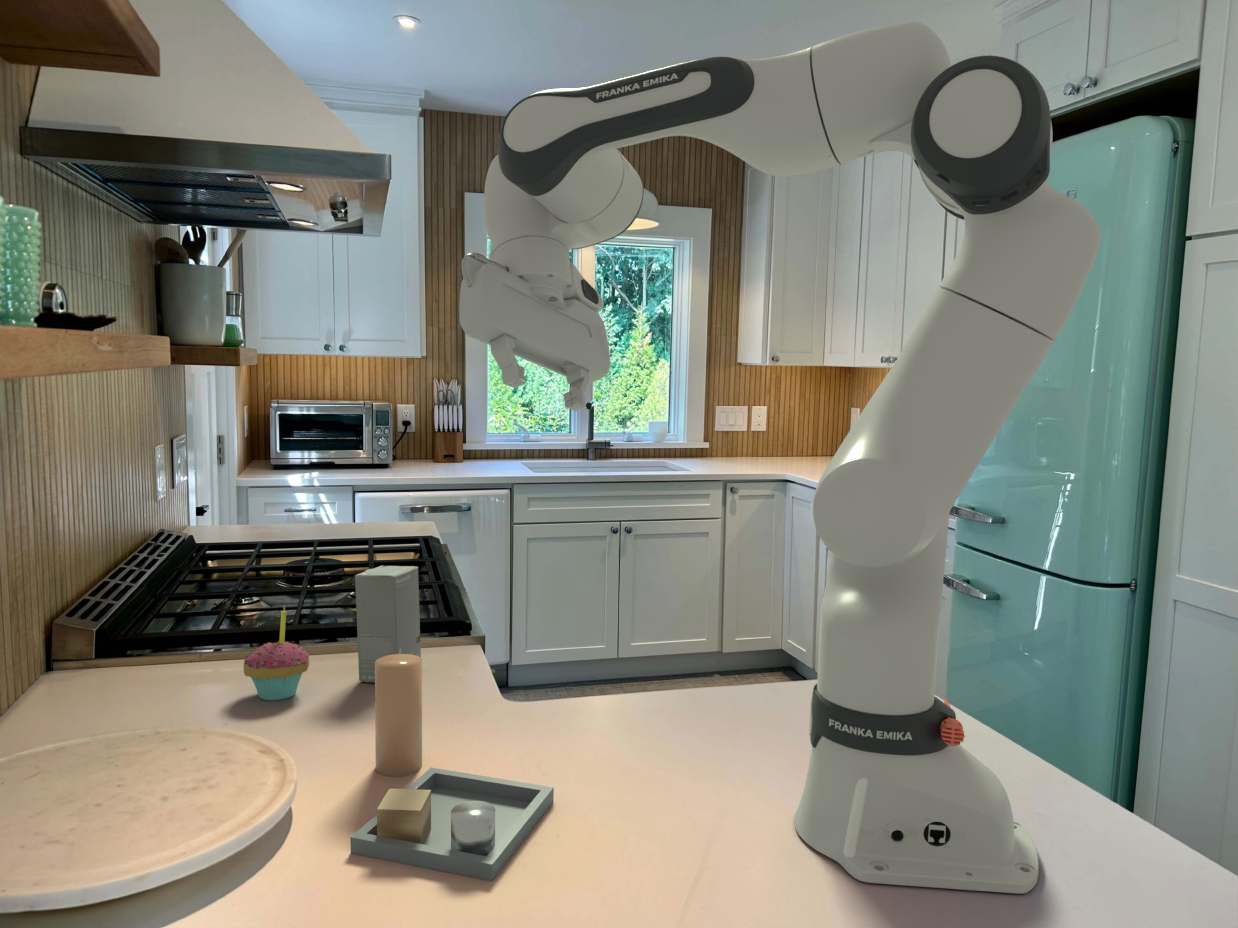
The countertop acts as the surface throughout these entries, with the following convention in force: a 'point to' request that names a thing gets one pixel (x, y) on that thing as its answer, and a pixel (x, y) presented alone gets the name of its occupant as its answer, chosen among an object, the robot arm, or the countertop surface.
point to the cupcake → (277, 666)
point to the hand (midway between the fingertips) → (546, 396)
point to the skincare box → (386, 615)
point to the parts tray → (513, 823)
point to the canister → (398, 714)
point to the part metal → (473, 827)
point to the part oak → (405, 815)
